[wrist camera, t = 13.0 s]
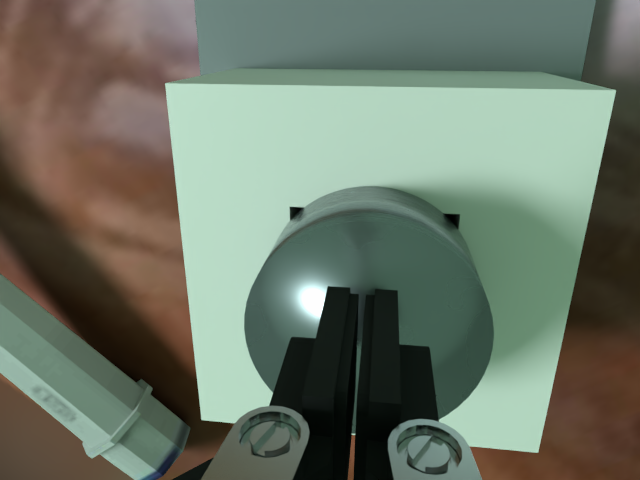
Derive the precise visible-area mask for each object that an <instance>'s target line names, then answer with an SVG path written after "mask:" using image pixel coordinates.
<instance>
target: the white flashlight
mask: <svg viewBox="0 0 640 480" xmlns="http://www.w3.org/2000/svg"><path fill="white" fill-rule="evenodd" d="M0 373H1V374H3V375H4V376H5V377H6V378H8V379H9V380H10V381H11V382H12V383H14V384H15V385H16V386H17V387H18V388H20V389H21V390H22V391H23V392H24V393H26V394H27V395H28V396H29V397H30V398H32V399H33V400H34V401H35V402H36V403H38V404H39V405H40V406H41V407H42V408H44V409H45V410H46V411H47V412H48V413H50V414H51V415H52V416H53V417H54V418H56V419H57V420H58V421H59V422H60V423H62V424H63V425H64V426H65V427H66V428H68V429H69V430H70V431H71V432H72V433H74V434H75V435H76V436H77V437H78V438H80V439H81V440H82V441H83V446H84V449H85V452H86V454H87V455H88V456H89V457H91V458H93V457H95V456H97V455H98V454H100V455H101V456H103V457H104V458H105V459H107V460H108V461H110V462H111V463H112V464H114V465H115V466H117V467H118V468H119V469H121V470H122V471H123V472H125V473H126V474H128V475H129V476H130V477H132V478H133V479H134V480H156V479H158V478H160V477H162V476H163V475H164V474H165V473H166V472H167V470H168V469H169V468H170V467H171V465H172V464H173V463H174V462H175V460H176V459H177V458H178V457H179V455H180V454H181V453H182V452H183V450H184V447H185V444H186V441H187V438H188V435H189V432H190V429H191V428H190V427H189V426H188V425H187V424H186V423H185V422H183V421H182V420H181V419H180V418H179V417H177V416H176V415H175V414H174V413H173V412H171V411H170V410H169V409H168V408H166V407H165V406H164V405H163V404H162V403H160V402H159V401H158V400H157V399H156V398H154V397H153V396H152V395H151V392H152V389H153V388H152V387H151V386H149V385H148V384H147V383H146V382H145V381H144V380H142V379H141V380H139V381H137V382H135V381H134V380H132V379H131V378H130V377H129V376H127V375H126V374H125V373H124V372H122V371H121V370H120V369H119V368H117V367H116V366H115V365H114V364H112V363H111V362H110V361H109V360H107V359H106V358H105V357H104V356H102V355H101V354H100V353H99V352H97V351H96V350H95V349H94V348H92V347H91V346H90V345H89V344H87V343H86V342H85V341H84V340H82V339H81V338H80V337H79V336H77V335H76V334H75V333H74V332H73V331H71V330H70V329H69V328H68V327H66V326H65V325H64V324H63V323H61V322H60V321H59V320H58V319H56V318H55V317H54V316H53V315H51V314H50V313H49V312H48V311H46V310H45V309H44V308H43V307H41V306H40V305H39V304H38V303H36V302H35V301H34V300H33V299H31V298H30V297H29V296H28V295H26V294H25V293H24V292H23V291H21V290H20V289H19V288H18V287H16V286H15V285H14V284H13V283H12V282H10V281H9V280H8V279H7V278H5V277H4V276H3V275H2V274H0Z"/></svg>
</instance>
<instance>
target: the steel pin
mask: <svg viewBox="0 0 640 480" xmlns="http://www.w3.org/2000/svg"><path fill="white" fill-rule="evenodd" d="M328 286H334V287H350V291H351V293H352V294H359V306H358V334H357V363H356V389H355V403H354V414H353V425H352V434H355V432H356V407H357V391H358V380H359V368H360V356H361V345H362V333H363V322H364V310H365V299H366V294H368V295H375V289H383V290H398V315H399V344H402V345H415V346H429V348H430V354H431V362H432V370H433V378H434V386H435V394H436V401H437V409H438V417H439V419H441V418H443V417H445V416H446V415H448V414H449V413H450V412H452V411H453V410H455V409H456V408H457V407H459V406H460V405H461V404H462V403H463V402H464V401H465V400H466V399H467V398H468V397H469V396H470V395H471V393H472V392H473V391H474V390H475V388H476V387H477V386H478V384H479V382H480V381H481V379H482V377H483V376H484V374H485V371H486V369H487V366H488V364H489V362H490V358H491V353H492V349H493V340H494V327H493V317H492V313H491V309H490V305H489V302H488V299H487V296H486V294H485V291H484V288H483V285H482V283H481V280H480V277H479V275H478V272H477V269H476V266H475V264H474V261H473V258H472V255H471V253H470V250H469V248H468V246H467V243H466V241H465V240H464V238H463V236H462V235H461V233H460V231H459V230H458V229H457V227H456V226H455V225H454V224H453V222H452V221H451V220H450V219H449V218H448V217H447V216H446V215H445V214H443V213H442V212H441V211H440V210H439V209H437V208H436V207H434V206H433V205H432V204H430V203H429V202H427V201H425V200H423V199H421V198H419V197H417V196H415V195H412V194H410V193H407V192H404V191H401V190H397V189H392V188H388V187H378V186H359V187H352V188H346V189H342V190H339V191H335V192H332V193H329V194H327V195H325V196H322V197H320V198H318V199H316V200H315V201H313V202H311V203H310V204H308V205H307V206H305V207H304V208H303V209H302V210H300V211H299V212H298V213H297V214H296V215H295V216H294V217H293V218H292V219H291V220H290V221H289V222H288V224H287V225H286V227H285V228H284V229H283V231H282V232H281V234H280V236H279V237H278V239H277V241H276V243H275V245H274V247H273V248H272V250H271V252H270V254H269V256H268V257H267V259H266V261H265V263H264V265H263V266H262V268H261V270H260V272H259V274H258V275H257V277H256V279H255V281H254V283H253V285H252V287H251V290H250V293H249V296H248V299H247V302H246V308H245V314H244V331H245V339H246V344H247V348H248V351H249V355H250V357H251V360H252V362H253V364H254V366H255V368H256V370H257V372H258V373H259V375H260V377H261V378H262V380H263V381H264V383H265V384H266V385H267V386H268V388H269V389H270V390H271V391H272V392H274V389H275V385H276V382H277V379H278V376H279V373H280V370H281V366H282V363H283V360H284V357H285V354H286V351H287V347H288V344H289V341H290V339H291V337H305V338H316V334H317V330H318V326H319V322H320V317H321V313H322V309H323V305H324V300H325V296H326V292H327V288H328Z"/></svg>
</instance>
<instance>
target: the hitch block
mask: <svg viewBox="0 0 640 480" xmlns="http://www.w3.org/2000/svg"><path fill="white" fill-rule="evenodd" d="M194 1H195V13H196V25H197V37H198V49H199V62H200V74H201V76H197V77H192V78H188V79H183V80H178V81H174V82H169V83H165V87H166V96H167V105H168V115H169V124H170V133H171V142H172V152H173V161H174V170H175V179H176V189H177V198H178V207H179V217H180V226H181V235H182V244H183V254H184V263H185V272H186V281H187V291H188V300H189V309H190V318H191V328H192V337H193V346H194V355H195V365H196V374H197V383H198V392H199V402H200V411H201V420H205V421H216V422H226V423H236V422H237V421H238V419H239V418H240V417H241V416H243V415H244V414H246V413H247V412H249V411H251V410H254V409H257V408H259V407H266V406H269V404H270V401H271V398H272V395H273V392H272V391H271V390H270V389H269V388H268V386H267V385H266V384H265V383H264V381H263V380H262V378H261V377H260V375H259V373H258V372H257V370H256V368H255V366H254V364H253V362H252V360H251V357H250V355H249V351H248V348H247V344H246V339H245V331H244V314H245V308H246V302H247V299H248V296H249V293H250V290H251V287H252V285H253V283H254V281H255V279H256V277H257V275H258V274H259V272H260V270H261V268H262V266H263V265H264V263H265V261H266V259H267V257H268V256H269V254H270V252H271V250H272V248H273V247H274V245H275V243H276V241H277V239H278V237H279V236H280V234H281V232H282V231H283V229H284V228H285V227H286V225H287V224H288V222H289V221H290V220H291V219H292V218H293V217H294V216H295V215H296V214H297V213H298V212H299V211H300V210H302V209H303V208H304V207H305V206H307V205H308V204H310V203H311V202H313V201H315V200H316V199H318V198H320V197H322V196H325V195H327V194H329V193H332V192H335V191H339V190H342V189H346V188H352V187H359V186H378V187H388V188H392V189H397V190H401V191H404V192H407V193H410V194H412V195H415V196H417V197H419V198H421V199H423V200H425V201H427V202H429V203H430V204H432V205H433V206H434V207H436V208H437V209H439V210H440V211H441V212H442V213H443V214H445V215H446V216H447V217H448V218H449V219H450V220H451V221H452V222H453V224H454V225H455V226H456V227H457V229H458V230H459V231H460V233H461V235H462V236H463V238H464V240H465V241H466V243H467V246H468V248H469V250H470V253H471V255H472V258H473V261H474V264H475V266H476V269H477V272H478V275H479V277H480V280H481V283H482V285H483V288H484V291H485V294H486V296H487V299H488V302H489V305H490V309H491V313H492V317H493V327H494V340H493V349H492V353H491V358H490V362H489V364H488V366H487V369H486V371H485V374H484V376H483V377H482V379H481V381H480V382H479V384H478V386H477V387H476V388H475V390H474V391H473V392H472V393H471V395H470V396H469V397H468V398H467V399H466V400H465V401H464V402H463V403H462V404H461V405H460V406H459V407H457V408H456V409H455V410H453V411H452V412H450V413H449V414H448V415H446V416H445V417H443V418H441V419H439V422H441V423H444V424H446V425H448V426H449V427H451V428H453V429H455V430H456V431H457V432H458V433H459V434H460V435H461V436H462V437H463V438H464V439H465V440H466V442H467V444H468V446H474V447H484V448H495V449H505V450H515V451H526V452H536V453H538V451H539V446H540V442H541V437H542V432H543V428H544V423H545V418H546V414H547V409H548V404H549V400H550V395H551V391H552V386H553V381H554V377H555V372H556V367H557V363H558V358H559V353H560V349H561V344H562V340H563V335H564V330H565V326H566V321H567V316H568V312H569V307H570V302H571V298H572V293H573V289H574V284H575V279H576V275H577V270H578V265H579V261H580V256H581V252H582V247H583V242H584V238H585V233H586V228H587V224H588V219H589V214H590V210H591V205H592V201H593V196H594V191H595V187H596V182H597V177H598V173H599V168H600V163H601V159H602V154H603V150H604V145H605V140H606V136H607V131H608V126H609V122H610V117H611V112H612V108H613V103H614V99H615V94H616V90H614V89H609V88H605V87H601V86H597V85H593V84H589V83H585V82H581V77H582V71H583V66H584V61H585V56H586V50H587V45H588V40H589V34H590V29H591V24H592V19H593V13H594V8H595V3H596V0H194ZM352 435H355V434H352Z"/></svg>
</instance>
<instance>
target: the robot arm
mask: <svg viewBox="0 0 640 480" xmlns="http://www.w3.org/2000/svg"><path fill="white" fill-rule="evenodd" d="M358 306H359V294H352V293H351V291H350V287H334V286H328V288H327V292H326V296H325V300H324V305H323V309H322V313H321V317H320V322H319V326H318V330H317V334H316V338H305V337H291V339H290V341H289V344H288V347H287V351H286V354H285V357H284V360H283V363H282V366H281V370H280V373H279V376H278V379H277V382H276V385H275V389H274V392H273V395H272V398H271V401H270V404H269V406H266V407H259V408H257V409H254V410H251V411H249V412H247V413H246V414H244V415H243V416H241V417H240V418H239V419H238V421H237V422H236V423H235V424H234V425H233V427H232V429H231V430H230V432H229V434H228V435H227V437H226V438H225V440H224V442H223V443H222V445H221V447H220V448H219V450H218V452H217V453H216V455H215V457H214V458H212V459H210V460H208V461H206V462H204V463H202V464H201V465H199V466H197V467H195V468H193V469H191V470H189V471H187V472H185V473H184V474H182V475H180V476H178V477H176V478H174V479H172V480H347V479H348V468H349V457H350V446H351V435H352V425H353V414H354V403H355V389H356V363H357V334H358ZM354 480H482V478H481V476H480V473H479V470H478V468H477V465H476V463H475V460H474V457H473V455H472V452H471V450H470V447H469V446H468V444H467V442H466V440H465V439H464V438H463V437H462V436H461V435H460V434H459V433H458V432H457V431H456V430H455V429H453V428H451V427H449V426H448V425H446V424H444V423H441V422H439V417H438V409H437V401H436V394H435V386H434V378H433V370H432V362H431V354H430V348H429V346H415V345H402V344H399V315H398V290H383V289H375V295H368V294H366V299H365V310H364V322H363V333H362V345H361V356H360V368H359V380H358V391H357V407H356V432H355V459H354Z"/></svg>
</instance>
